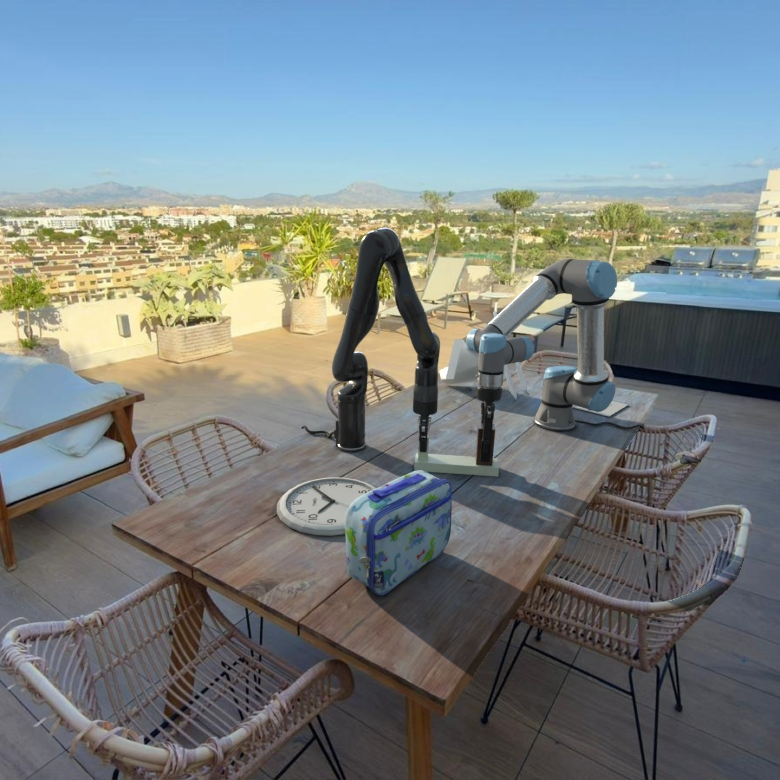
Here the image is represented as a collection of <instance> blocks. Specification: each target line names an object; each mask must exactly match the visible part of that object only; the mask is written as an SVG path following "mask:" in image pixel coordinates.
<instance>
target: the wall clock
mask: <svg viewBox="0 0 780 780" xmlns="http://www.w3.org/2000/svg"><path fill="white" fill-rule="evenodd" d="M376 488H377V487H376V486H374V485H372V484H371V483H369V482H365V481H362V480H359V479H355V478H349V477H338V476H337V477H335V476H333V477H332V476H331V477H322V478H317V479H312V480H307V481H305V482H302V483H299V484H297V485H295V486H293V487H292V488H290V489H288V490H287V491H286V492H285V493H284V494H283V495H281V496H280V498H279V499H278V502H277V503H276V515H277V517H278V518H279V520H280V521H281V522H282V523H283V524H285V525H286V526H287V527H288V528H290V529H293V530H295V531H297V532H299V533H303V534H308V535H312V536H327V537H328V536H329V537H331V536H332V537H333V536H342V535H345V517H346V513H347V510H348V508H349V506H350V505H351V503H352V502H353V501H354V500H355V499H356V498H358V497H360V496H362V495H364V494H366V493H368V492H370V491H372V490H374V489H376Z"/></svg>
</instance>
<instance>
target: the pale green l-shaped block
mask: <svg viewBox="0 0 780 780" xmlns="http://www.w3.org/2000/svg"><path fill="white" fill-rule="evenodd" d="M421 437H425V436H421ZM425 438H426V437H425ZM429 444H430V433H429V434H428V441H427V452H420V441H419V440H418V452H415V457H414V465H413V467H414V468H413V472H414V471H417V470H422V471H425V472H427V473H439V474H440V473H441V474H455V475H467V476H468V475H469V476H483V477H484V476H485V477H497V478H499V473H500V465H499V460H498V458H497V457H496V458H495V457H493V463H492V466H486V465H476V460H475V456H468V455H467V456H465V455H453V454H452V455H451V454H436V453H429V447H430V446H429Z"/></svg>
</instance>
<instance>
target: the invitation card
mask: <svg viewBox="0 0 780 780" xmlns="http://www.w3.org/2000/svg"><path fill="white" fill-rule="evenodd" d="M628 406H629V404H627V403H623V402H618V401H614V400H612V402H611V403H610V405H609V406H608V407H607V408H606V409H605V410H603V411H601V412H596V411H592V410H588V409H585V408H582V407H579V406H576V405H575V406H574V407H573V409H575V410H581V411H584V412H587V413H593V414H596V415H600V416H604V417H608V418H609V417H611V416H613V415H614V414H616V413H617V412H619V411H621V410H623V409H624V408H626V407H628Z"/></svg>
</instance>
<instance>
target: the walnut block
mask: <svg viewBox="0 0 780 780" xmlns="http://www.w3.org/2000/svg"><path fill="white" fill-rule="evenodd" d="M476 430H477V432H476V443H475V445H476V446H475V456H474V457H475V460H476V465H486V466H492V463H493V458H494V450H495V438H496V426H495V424H494V423H493V427H492V443H491V447H490V460H489V462H480V457H481V443H482V442H480V440H482V439H483V423H481V422H477V429H476Z"/></svg>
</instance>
